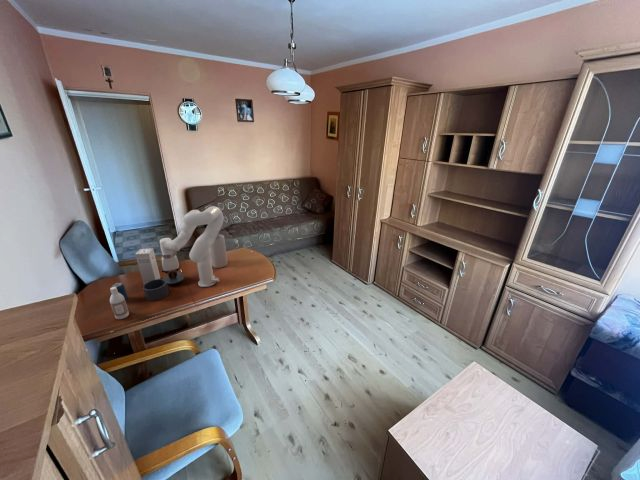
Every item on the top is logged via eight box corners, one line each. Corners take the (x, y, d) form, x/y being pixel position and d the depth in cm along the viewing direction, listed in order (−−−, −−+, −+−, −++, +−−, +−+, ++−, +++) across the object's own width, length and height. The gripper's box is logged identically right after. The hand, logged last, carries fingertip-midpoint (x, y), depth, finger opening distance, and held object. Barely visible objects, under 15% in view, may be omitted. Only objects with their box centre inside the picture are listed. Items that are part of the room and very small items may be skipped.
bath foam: (115, 321, 155) (105, 292, 147) (115, 314, 160) (106, 286, 153) (129, 317, 159) (120, 289, 151) (129, 310, 164) (120, 283, 156)
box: (160, 278, 200) (153, 248, 190) (156, 284, 192) (148, 253, 183) (148, 279, 198) (140, 249, 189) (143, 285, 191) (135, 254, 181)
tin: (172, 289, 186) (170, 279, 183) (162, 301, 174) (159, 290, 171) (153, 289, 186) (150, 278, 183) (141, 300, 174) (138, 290, 170)
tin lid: (188, 274, 201) (186, 266, 198) (179, 285, 187) (177, 276, 185) (168, 274, 200) (166, 265, 198) (158, 284, 187) (156, 275, 184)
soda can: (126, 295, 178) (121, 280, 174) (129, 299, 174) (124, 284, 170) (113, 300, 174) (108, 284, 169) (117, 304, 169) (112, 288, 165)
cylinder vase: (209, 264, 222) (205, 236, 212) (223, 259, 229) (220, 233, 220) (215, 269, 213) (211, 241, 203) (230, 265, 221) (226, 237, 211)
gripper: (180, 250, 193) (184, 272, 200) (155, 255, 185) (160, 277, 192) (181, 254, 187) (186, 277, 194) (155, 259, 179) (160, 282, 186)
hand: (173, 277), depth 193 cm, fingers closed on tin lid, 2 cm apart
